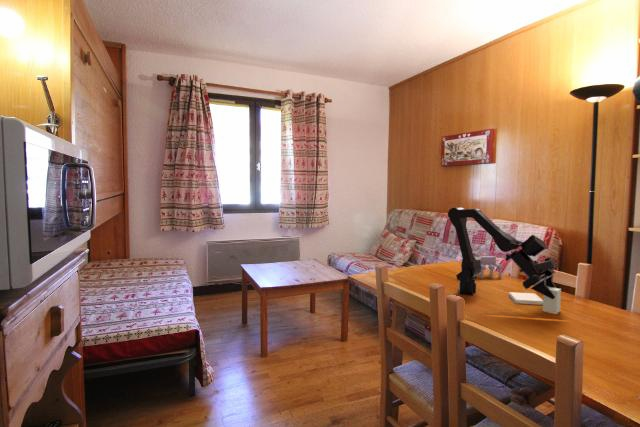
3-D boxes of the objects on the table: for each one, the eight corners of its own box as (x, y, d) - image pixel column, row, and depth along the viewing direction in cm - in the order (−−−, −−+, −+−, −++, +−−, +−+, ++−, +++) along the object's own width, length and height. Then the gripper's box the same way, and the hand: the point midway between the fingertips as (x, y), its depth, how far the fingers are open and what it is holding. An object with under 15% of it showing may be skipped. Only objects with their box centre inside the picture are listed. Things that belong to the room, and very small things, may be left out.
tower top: (516, 303, 142) (516, 299, 142) (509, 295, 152) (509, 292, 152) (543, 304, 140) (543, 301, 140) (534, 296, 150) (534, 293, 149)
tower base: (514, 307, 142) (514, 303, 142) (506, 298, 153) (506, 294, 153) (547, 309, 139) (547, 305, 139) (536, 299, 151) (536, 296, 150)
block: (542, 312, 134) (543, 288, 133) (546, 310, 136) (547, 286, 136) (556, 316, 130) (557, 291, 129) (559, 313, 133) (561, 288, 132)
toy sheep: (466, 279, 181) (466, 253, 180) (457, 275, 191) (457, 250, 191) (504, 278, 182) (504, 252, 181) (493, 274, 192) (493, 249, 192)
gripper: (533, 254, 128) (567, 290, 121) (550, 248, 140) (582, 280, 133) (509, 271, 135) (540, 306, 128) (528, 264, 147) (557, 296, 139)
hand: (556, 297), depth 132 cm, fingers open, 5 cm apart
